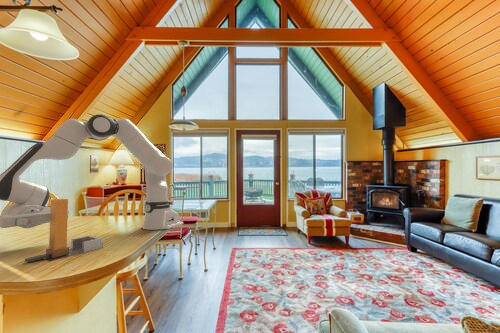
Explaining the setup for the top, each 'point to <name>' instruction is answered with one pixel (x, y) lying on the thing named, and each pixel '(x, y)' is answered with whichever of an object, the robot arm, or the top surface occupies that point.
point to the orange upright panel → (56, 231)
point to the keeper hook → (86, 243)
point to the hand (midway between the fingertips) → (45, 219)
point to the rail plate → (71, 253)
